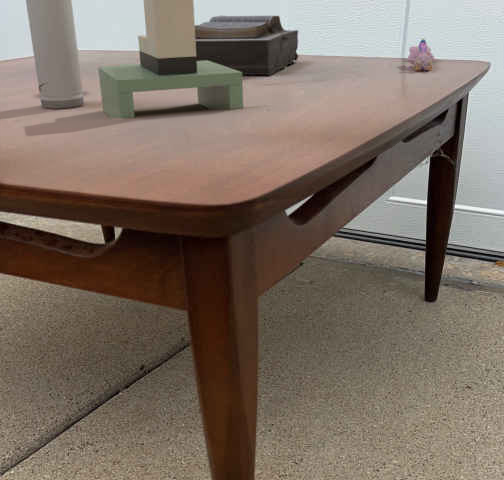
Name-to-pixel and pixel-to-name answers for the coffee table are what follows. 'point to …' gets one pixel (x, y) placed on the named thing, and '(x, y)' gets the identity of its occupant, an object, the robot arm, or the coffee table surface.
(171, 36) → the beige dark-bottomed block
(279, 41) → the bible
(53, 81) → the travel mug
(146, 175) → the coffee table surface
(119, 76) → the shoe shelf
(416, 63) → the rabbit figure
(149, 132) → the coffee table surface
